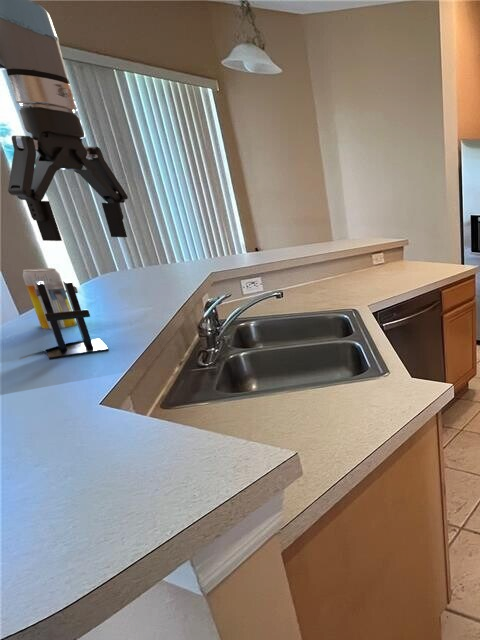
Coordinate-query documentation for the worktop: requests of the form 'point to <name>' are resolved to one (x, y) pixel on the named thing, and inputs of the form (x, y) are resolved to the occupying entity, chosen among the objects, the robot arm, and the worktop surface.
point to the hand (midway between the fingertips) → (88, 239)
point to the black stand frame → (87, 344)
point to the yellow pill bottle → (47, 277)
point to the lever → (62, 304)
